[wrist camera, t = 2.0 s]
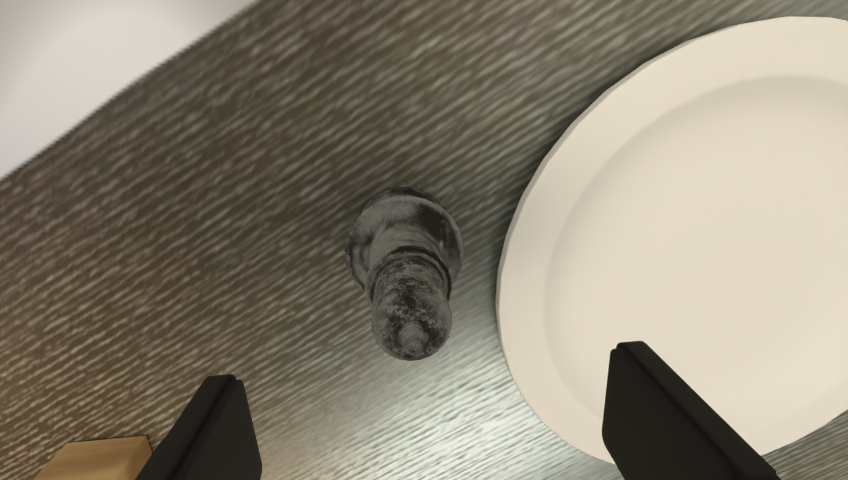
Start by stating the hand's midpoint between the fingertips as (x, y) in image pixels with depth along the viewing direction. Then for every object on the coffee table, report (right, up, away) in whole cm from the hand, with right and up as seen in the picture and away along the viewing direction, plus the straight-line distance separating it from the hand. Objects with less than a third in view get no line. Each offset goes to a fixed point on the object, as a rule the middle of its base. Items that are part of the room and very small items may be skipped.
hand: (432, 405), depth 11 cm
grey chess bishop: (-1, +5, +14) cm, 14 cm away
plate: (+18, +2, +16) cm, 24 cm away
